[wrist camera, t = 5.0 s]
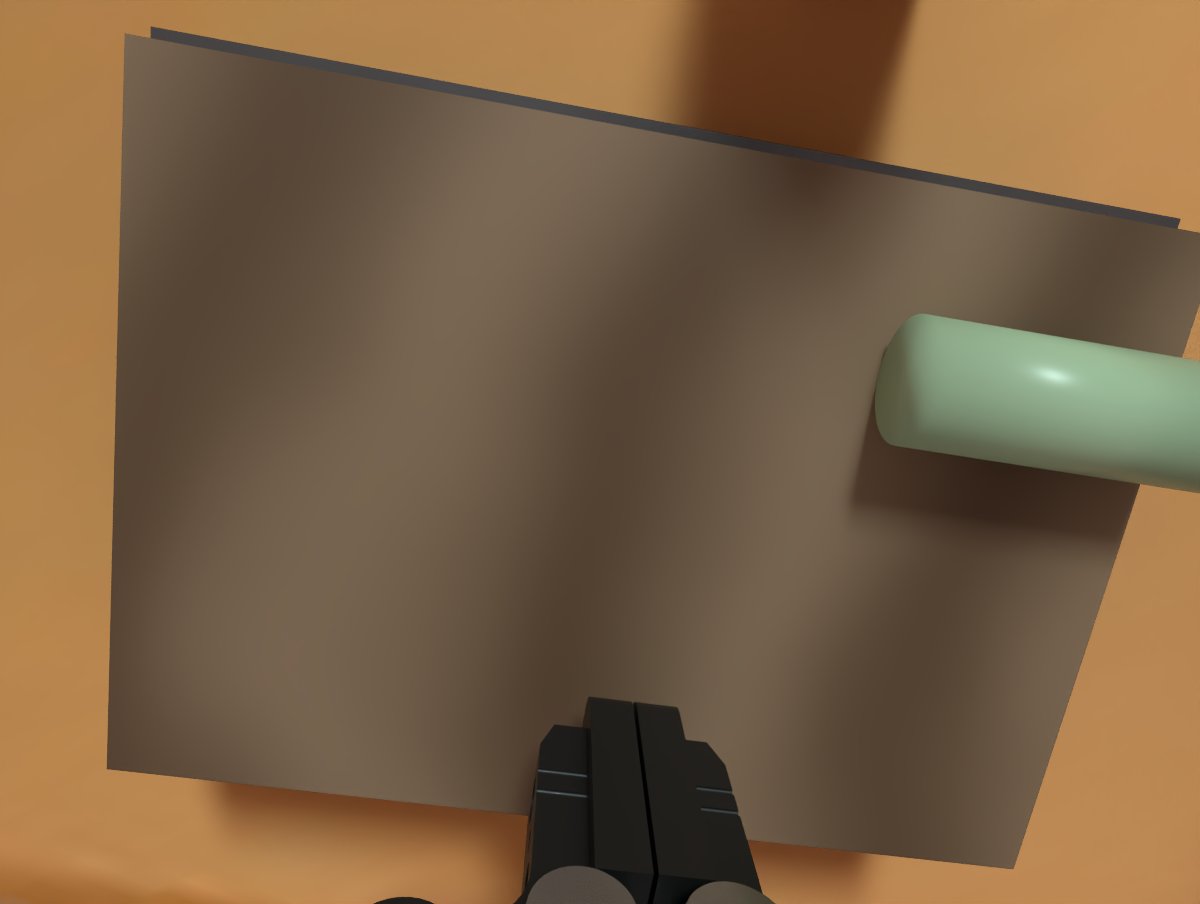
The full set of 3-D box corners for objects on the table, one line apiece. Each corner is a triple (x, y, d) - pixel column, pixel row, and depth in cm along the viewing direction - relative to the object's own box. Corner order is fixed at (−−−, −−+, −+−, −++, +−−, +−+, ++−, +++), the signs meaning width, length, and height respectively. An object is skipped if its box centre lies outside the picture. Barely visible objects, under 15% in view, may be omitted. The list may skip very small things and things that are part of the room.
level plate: (1149, 242, 13) (1350, 227, 10) (971, 815, 16) (1083, 960, 12) (178, 64, 12) (23, -25, 9) (153, 720, 14) (25, 854, 11)
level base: (1087, 223, 16) (1181, 218, 13) (921, 744, 19) (971, 815, 17) (221, 64, 14) (150, 27, 12) (203, 655, 18) (145, 720, 15)
